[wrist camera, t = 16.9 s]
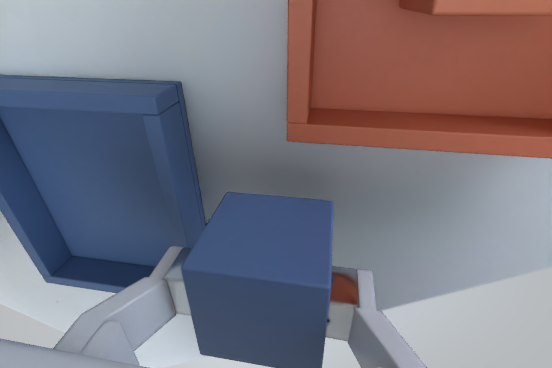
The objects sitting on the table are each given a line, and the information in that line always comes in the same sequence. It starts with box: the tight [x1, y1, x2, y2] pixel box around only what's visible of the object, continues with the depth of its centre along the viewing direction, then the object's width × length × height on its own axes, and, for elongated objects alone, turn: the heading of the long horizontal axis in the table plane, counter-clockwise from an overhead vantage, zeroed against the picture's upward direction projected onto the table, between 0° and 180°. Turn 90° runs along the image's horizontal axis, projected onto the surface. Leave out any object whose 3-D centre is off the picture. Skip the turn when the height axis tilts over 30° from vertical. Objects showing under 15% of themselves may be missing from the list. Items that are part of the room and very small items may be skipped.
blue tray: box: [0, 75, 206, 293], centre depth 18 cm, size 14×12×2 cm
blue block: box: [181, 192, 333, 368], centre depth 12 cm, size 4×4×4 cm
